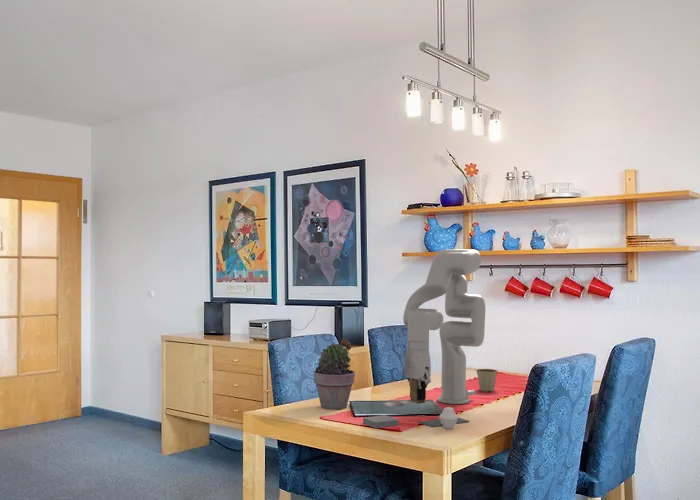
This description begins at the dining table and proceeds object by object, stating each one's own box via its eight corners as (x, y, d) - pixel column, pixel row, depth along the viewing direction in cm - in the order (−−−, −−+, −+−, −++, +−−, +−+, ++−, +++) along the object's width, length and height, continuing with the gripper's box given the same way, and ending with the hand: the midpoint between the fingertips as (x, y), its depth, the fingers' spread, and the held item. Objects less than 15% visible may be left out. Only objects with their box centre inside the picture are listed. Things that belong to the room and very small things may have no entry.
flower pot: (475, 391, 293) (475, 371, 293) (475, 388, 302) (475, 368, 302) (498, 392, 291) (498, 372, 292) (497, 388, 301) (497, 369, 301)
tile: (385, 415, 238) (363, 417, 233) (398, 419, 231) (375, 422, 226) (385, 421, 238) (363, 424, 233) (398, 426, 231) (375, 429, 226)
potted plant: (299, 410, 252) (300, 342, 253) (320, 400, 271) (321, 337, 271) (346, 414, 246) (346, 344, 246) (363, 404, 264) (364, 339, 265)
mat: (455, 417, 243) (455, 416, 243) (468, 422, 237) (468, 420, 237) (419, 422, 235) (419, 421, 235) (431, 427, 229) (431, 426, 229)
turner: (417, 400, 243) (418, 378, 243) (425, 403, 239) (425, 379, 239) (381, 405, 235) (381, 381, 235) (388, 407, 231) (388, 383, 231)
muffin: (445, 430, 224) (445, 409, 224) (435, 426, 230) (435, 405, 230) (461, 429, 227) (461, 407, 227) (451, 425, 232) (451, 404, 232)
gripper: (395, 343, 246) (395, 395, 245) (423, 349, 231) (423, 404, 231) (413, 342, 250) (412, 393, 249) (441, 348, 235) (441, 401, 235)
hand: (417, 398), depth 240 cm, fingers closed on turner, 3 cm apart
